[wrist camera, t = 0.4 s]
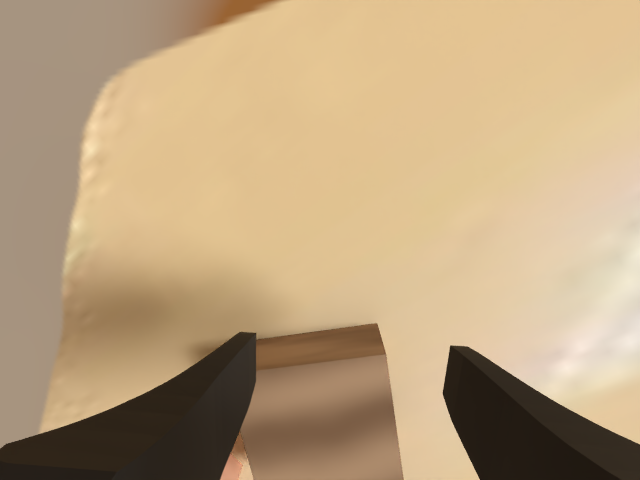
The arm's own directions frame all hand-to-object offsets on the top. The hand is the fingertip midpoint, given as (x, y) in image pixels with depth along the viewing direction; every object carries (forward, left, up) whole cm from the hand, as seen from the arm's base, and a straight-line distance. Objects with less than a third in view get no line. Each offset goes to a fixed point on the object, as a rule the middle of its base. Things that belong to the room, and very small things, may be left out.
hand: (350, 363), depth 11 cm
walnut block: (-9, +3, -10) cm, 14 cm away
